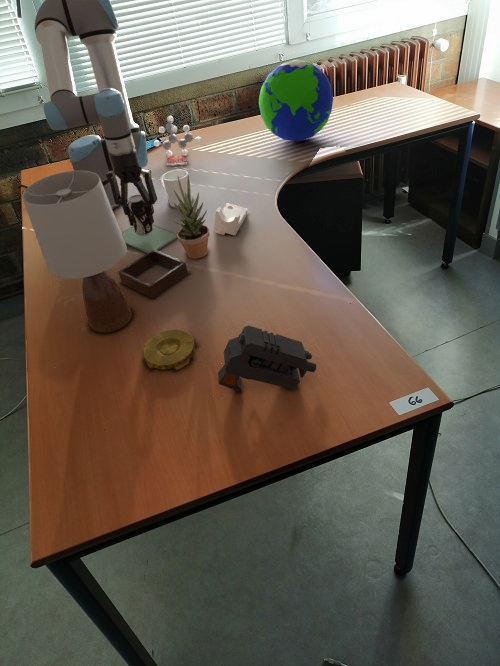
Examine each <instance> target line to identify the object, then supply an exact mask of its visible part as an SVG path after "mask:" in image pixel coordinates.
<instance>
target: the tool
mask: <svg viewBox="0 0 500 666" xmlns="http://www.w3.org/2000/svg"><path fill="white" fill-rule="evenodd" d="M223 359H224V361H223V362H224V364H223V366H222V367H221V368H220V369H219V370H218V372H217V379H218V382H217V383H218V385H220V386H223V387H226V388H228V389H231V390H233V391H236V392H240V391H241V389H242V388H243V386H242V385H243V384H242V379H245V380H253V381H256V382H261V383H265V384H270V385H273V386H278V387H282V388H287V389H290V390H291V389H294V388H296V387H297V386H298V384H299V383H300V381H301V379H300V378H302V379H303V378H304V376H305V375H306V373H307V372H309V373H315V372H316V370H317V363H315V362H312V361H310V360H312V359H313V354H312V353H311V352H310V351H309V350H306V349H305V347H304V344H303V342H302V341H300V340H297V339H294V338H290V337H287V336H284V335H281V334H277V333H276V334H274V332H272V331H271V332H269V331H268V330H263V329H262V328H259V327H255V326H252V325H249V324H248V325H245V326H243V329H242V330H241V332H240V333H239V334H238V336H236V337H234V338H231V339H229V340H228V341H227V343H226V346H225V348H224V350H223Z"/></svg>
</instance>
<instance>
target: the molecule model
mask: <svg viewBox="0 0 500 666" xmlns="http://www.w3.org/2000/svg"><path fill="white" fill-rule="evenodd" d="M166 120H167V122H168V123H166V125H165V127H164V126H159V127H158V132H159V133H160V134H164V133H165V132H167V133H170V134H169V135H168V140H164V141H163V142H160V141H159V140H158V139H155V140H154V141H153V146H154V147H157V148H158V147H159V146H160V145H161V146H162V148H163V149H164V150H167V151H166V152H165V155H166V156H167V162H166V166H168V167H170V166H172V167H175V166H177V165H179V166H182V165H184V166H187V165H188V162H187V157H185V156H187V155H188V153H189V151H188V150H187V149H185V148H186V147H187V143H191V142H192V141H193V140H194V141H195V143H196V144H200V143H201V142H202V137H200V136H196V137H193V134H192V133H191V132H190V126H189V125H188V124H185V125H183V127H182V130H183V131H184V132H185V134H184V137H183V138H184V139H183V138H182V139H178V137H177V135H176V134H175V133H177V132H178V127H177V126H176V125H174V124H173V122H174V117H173V116H172V115H168V116H167V118H166ZM175 143H177V146H178V147H179V149H182V150H181V154H182V156H181V157H180V155H177V157H176V158H175V157H174V156H172V155H173V152H172V151H171V150H170V149H171V146H172V144H175ZM179 161H180V162H179Z"/></svg>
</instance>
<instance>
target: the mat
mask: <svg viewBox="0 0 500 666" xmlns="http://www.w3.org/2000/svg"><path fill="white" fill-rule="evenodd" d="M152 226H153V231H152V232H151V233H150V234H149V235H146V236H140V235H137V234H136V233H135V229H134V226H131V228H128V229H127V230H125V231H123V232H121V233H122V236H123V239H124V241H125V244H126V246H130V247H132V248H134V249H137V250H139V251H141V252H144V253H145V254H147V253H149V252H150V251H152V250H157V251H159V250H160V249H162V248H164V247H166V246H167V245H169V244H170V243H172V242H173V241H175V240H177V239H178V238H177V233H173V232H171V231H168V230H166V229H162V228H160V227H157V226H154V225H152Z"/></svg>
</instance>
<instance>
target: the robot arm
mask: <svg viewBox="0 0 500 666" xmlns="http://www.w3.org/2000/svg"><path fill="white" fill-rule="evenodd" d="M34 19H35V20H34V33H35V38H36V40H37V42H38V43H39V44H40V47H41V53H42V59H43V65H44V69H45V75H46V81H47V87H48V94H49V99H50V100H49V101H47V102H44V103H43V106H42V107H43V113H44V116H45V119H46V123H47V124H48V126H49V128H50V129H51V130H52V131H61V130H68V129H73V128H78V127H83V126H87V125H94V124H100V125H101V129H102V132H103V137H104V138H101V137H100V136H99V135H98V134H89V135H85V136H82V137H79V138H77V139H76V140H73V142H71V143H70V144H69V146H68V147H67V154H68V157H69V163H71V166H72V170H73V171H77V170H82V171H90V172H93V173H96V174H97V175H98V176H99V177H100V180H101V182H102V185H103V187H104V190H105V192H106V195H107V198H108V200H109V203H110V205H111V208H112V210H113V211H114V209H117V208H118V207H120V206H121V207H122V210H123V213H124V215H125V216H127V218H128V222H129V225H130V227H134V226H133V222H132V219H131V215H130V212H129V208H128V202H129V201H128V199H129V197H128V193H129V187H128V185H129V183H130V184H133V186H134V187H136V190H137V191H138V193H139V195H141V197H142V198H143V200H144V202H145V204H146V205H145V206H144V208H145V212H146V215H147V219H148V223H149V226H153V224H154V223H155V218H154V214H155V208H154V204H156V202H157V201H158V196H157V192H156V189H155V185H154V183H153V178H152V169H151V168H148V169H143V168H145V167H147V166H148V164H149V156H148V147H147V140H146V139H147V138H146V132H145V131H144V130H143V131H142V130H141V129H140V125H138V124H137V123H135V121H134V119H133V116H132V115H133V114H132V111H131V108H130V103H129V100H128V99H129V98H128V95H127V92H126V91H127V90H126V88H125V82H124V80H123V75H122V71H121V66H120V62H119V60H118V54H117V50H116V46H115V40H116V39H117V36H118V35H117V31H118V30H119V29H120V25H119V22H118V19H117V16H116V13H115V10H114V7H113V5H112V2H111V0H44V1H43V2H42V3H41V4H40V7H39V8H38V10H37V12H36V16H35V18H34ZM72 37H79V42H80V43H81V44H82V45H83V46H85V47H86V49H87V52H88V56H89V60H90V64H91V67H92V68H91V69H92V71H93V75H94V78H95V83H96V86H97V89H98V92H96V93H90V94H86V95H80V96H78V91H77V87H76V81H75V76H74V71H73V67H72V61H71V56H70V51H69V47H68V43H69V41H70V38H72ZM141 175H142V177H141ZM117 178H118V179H119V180H120V181H119V183H118V179H117ZM142 178H143V179H144V183H145V184H144V183H143V179H142ZM119 185H120V187H119ZM28 187H29V186H28V185H26V184H19V185H18V187H17V189H21V188H23V189H27V188H28Z"/></svg>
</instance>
